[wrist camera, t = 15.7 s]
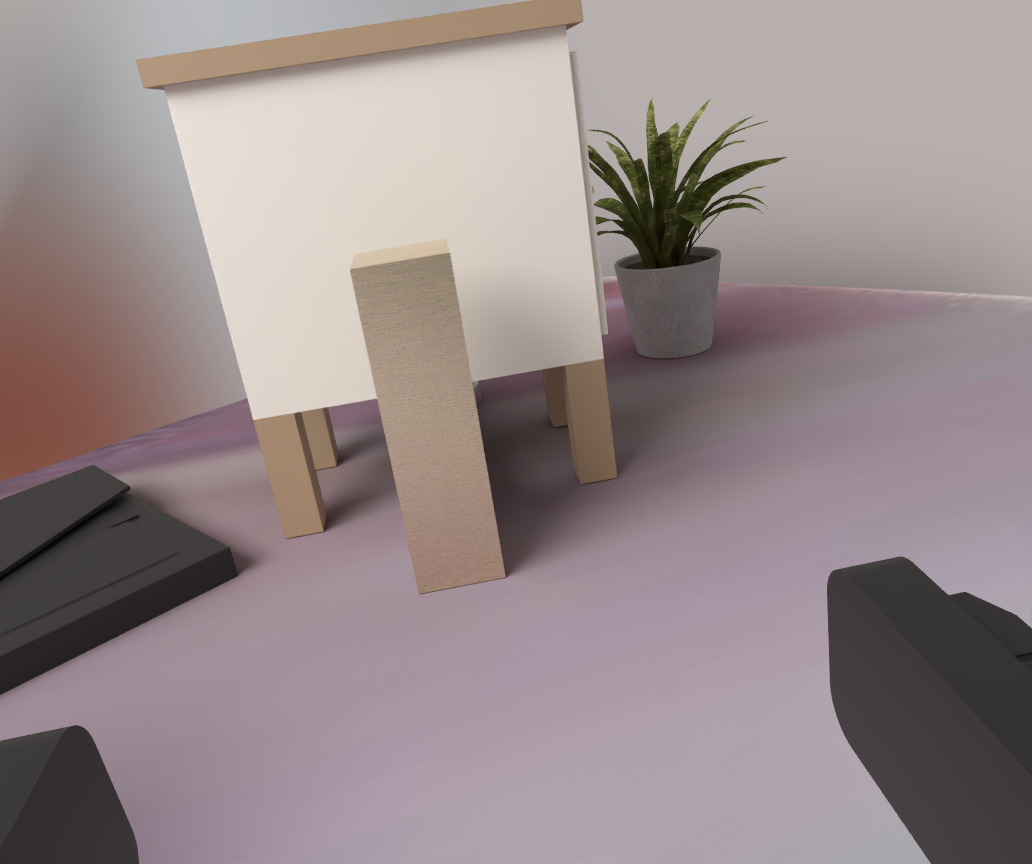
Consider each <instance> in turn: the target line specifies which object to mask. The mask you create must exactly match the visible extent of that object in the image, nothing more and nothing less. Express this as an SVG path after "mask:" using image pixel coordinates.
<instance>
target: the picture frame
mask: <svg viewBox="0 0 1032 864" xmlns="http://www.w3.org/2000/svg"><path fill="white" fill-rule="evenodd" d="M129 490H130V487H129V485H127V484H125V483H124V482H122V481H120V480H118V479H117V478H115V477H113V476H112V475H110V474H108V473H106V472H105V471H103V470H101V469H99V468H98V467H96V466H94V465H92V466H89V467H87V468H84V469H81V470H78V471H76V472H73V473H70V474H68V475H65V476H62V477H60V478H57V479H54V480H52V481H49V482H46V483H44V484H41V485H38V486H36V487H33V488H30V489H28V490H25V491H22V492H19V493H17V494H14V495H11V496H9V497H6V498H3V499H1V500H0V695H1V694H3V693H5V692H7V691H9V690H11V689H13V688H15V687H17V686H19V685H21V684H23V683H25V682H27V681H29V680H31V679H33V678H35V677H37V676H39V675H41V674H43V673H45V672H47V671H49V670H51V669H53V668H55V667H57V666H59V665H61V664H63V663H65V662H67V661H69V660H71V659H73V658H75V657H77V656H79V655H81V654H83V653H85V652H87V651H89V650H91V649H93V648H95V647H97V646H99V645H101V644H103V643H105V642H107V641H109V640H111V639H113V638H115V637H117V636H119V635H121V634H123V633H125V632H127V631H129V630H131V629H133V628H135V627H137V626H139V625H141V624H143V623H145V622H147V621H149V620H151V619H153V618H155V617H157V616H159V615H161V614H163V613H165V612H167V611H169V610H171V609H173V608H175V607H177V606H179V605H181V604H183V603H185V602H187V601H189V600H191V599H193V598H195V597H197V596H199V595H201V594H203V593H205V592H207V591H209V590H211V589H213V588H215V587H217V586H219V585H221V584H223V583H225V582H227V581H229V580H231V579H233V578H235V577H237V576H238V574H237V571H236V567H235V564H234V561H233V557H232V554H231V551H230V548H229V547H228V546H226V545H224V544H222V543H220V542H218V541H216V540H214V539H213V538H211V537H209V536H207V535H205V534H203V533H201V532H199V531H198V530H196V529H194V528H192V527H190V526H188V525H186V524H184V523H183V522H181V521H179V520H177V519H175V518H173V517H171V516H169V515H168V514H166V513H164V512H162V511H160V510H158V509H156V508H154V507H153V506H151V505H149V504H147V503H145V502H143V501H141V500H139V499H138V498H136V497H134V496H132V495H130V494H128V493H126V492H127V491H129Z"/></svg>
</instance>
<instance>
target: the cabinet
mask: <svg viewBox="0 0 1032 864" xmlns="http://www.w3.org/2000/svg"><path fill="white" fill-rule="evenodd" d="M581 22H583V14H582V5H581V0H532V1H526V2H519V3H512V4H506V5H500V6H493V7H486V8H479V9H472V10H467V11H459V12H453V13H446V14H439V15H432V16H425V17H419V18H412V19H406V20H399V21H392V22H385V23H379V24H373V25H365V26H359V27H352V28H345V29H339V30H332V31H325V32H319V33H312V34H305V35H298V36H292V37H286V38H278V39H272V40H265V41H258V42H253V43H245V44H239V45H232V46H225V47H218V48H212V49H205V50H198V51H192V52H185V53H178V54H172V55H165V56H158V57H152V58H145V59H138V60H136V62H137V66H138V69H139V73H140V77H141V81H142V84H143V88H149V89H160V90H165V93H166V97H167V101H168V105H169V108H170V112H171V116H172V120H173V123H174V127H175V131H176V134H177V138H178V142H179V146H180V149H181V153H182V157H183V161H184V164H185V168H186V172H187V175H188V179H189V183H190V186H191V190H192V193H193V198H194V201H195V205H196V209H197V213H198V216H199V220H200V223H201V227H202V231H203V234H204V239H205V242H206V246H207V249H208V253H209V257H210V261H211V264H212V268H213V272H214V276H215V279H216V283H217V287H218V290H219V294H220V298H221V302H222V305H223V309H224V313H225V316H226V320H227V323H228V327H229V331H230V335H231V339H232V342H233V346H234V349H235V354H236V357H237V361H238V365H239V368H240V372H241V376H242V380H243V383H244V387H245V391H246V394H247V398H248V402H249V405H250V409H251V413H252V417H253V420H254V424H255V428H256V431H257V435H258V439H259V443H260V446H261V450H262V454H263V457H264V461H265V465H266V469H267V472H268V476H269V480H270V483H271V487H272V491H273V495H274V498H275V502H276V506H277V509H278V513H279V517H280V521H281V524H282V528H283V532H284V535H285V539H286V538H291V537H297V536H302V535H308V534H313V533H319V532H324V526H325V521H326V516H327V514H326V510H325V506H324V502H323V498H322V494H321V490H320V486H319V482H318V478H317V474H316V470H318V469H324V468H329V467H335V466H337V461H338V456H339V453H338V449H337V445H336V441H335V436H334V432H333V428H332V424H331V419H330V415H329V411H328V407H331V406H336V405H342V404H348V403H354V402H359V401H365V400H371V399H376V398H377V395H376V391H375V386H374V381H373V377H372V372H371V367H370V363H369V358H368V353H367V349H366V344H365V339H364V335H363V330H362V325H361V321H360V316H359V311H358V307H357V302H356V297H355V292H354V288H353V283H352V278H351V274H350V266H351V263H352V261H353V258H354V255H355V254H358V253H364V252H370V251H376V250H382V249H388V248H394V247H400V246H406V245H412V244H418V243H424V242H430V241H436V240H442V239H446V242H447V245H448V248H449V251H450V255H451V261H452V267H453V273H454V279H455V284H456V290H457V296H458V302H459V308H460V314H461V319H462V325H463V331H464V337H465V343H466V349H467V354H468V360H469V366H470V372H471V378H472V382H473V381H479V380H485V379H491V378H496V377H502V376H508V375H513V374H519V373H525V372H531V371H536V370H543V377H544V384H545V391H546V398H547V405H548V413H549V418H550V420H551V422H552V424H553V426H554V427H558V426H564V425H568V428H569V435H570V443H571V450H572V458H573V465H574V471H575V473H576V475H577V477H578V479H579V482H580V484H586V483H591V482H596V481H602V480H607V479H613V478H617V469H616V461H615V452H614V443H613V434H612V426H611V417H610V408H609V399H608V390H607V382H606V373H605V364H604V355H603V347H602V338H601V335H605V334H608V328H607V319H606V310H605V301H604V292H603V283H602V274H601V265H600V256H599V247H598V238H597V229H596V220H595V211H594V202H593V193H594V190H593V187H592V184H591V175H590V166H589V157H588V148H587V139H586V130H585V122H584V112H583V103H582V94H581V85H580V76H579V67H578V58H577V51H574V52H569V49H568V40H567V31H566V30H568V29H569V28H571V27H573V26H575V25H577V24H579V23H581Z"/></svg>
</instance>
